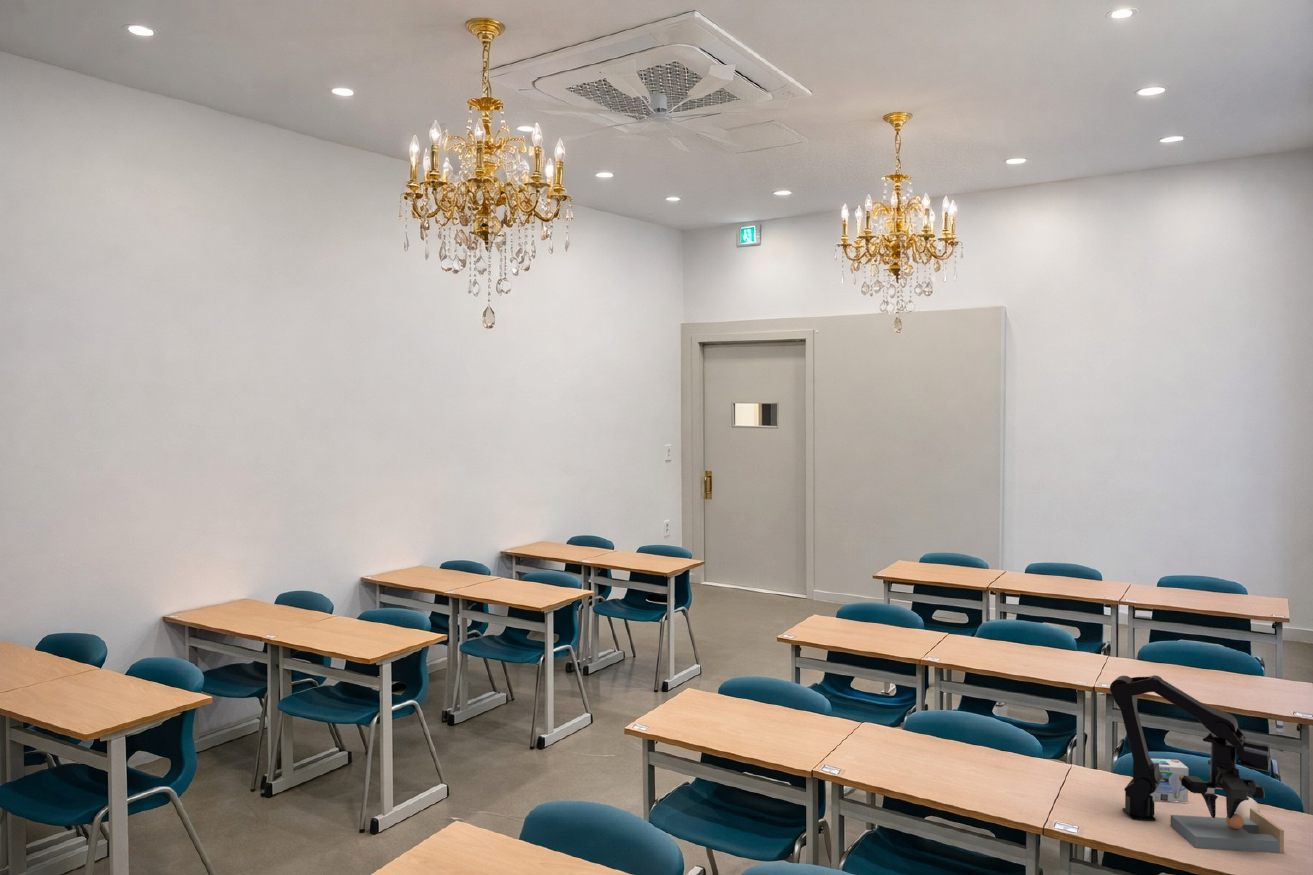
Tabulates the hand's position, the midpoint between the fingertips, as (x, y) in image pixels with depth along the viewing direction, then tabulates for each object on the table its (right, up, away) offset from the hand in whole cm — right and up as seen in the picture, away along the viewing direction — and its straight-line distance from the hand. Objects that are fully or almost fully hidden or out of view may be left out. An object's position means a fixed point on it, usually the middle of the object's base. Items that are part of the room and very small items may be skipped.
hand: (1221, 818), depth 227 cm
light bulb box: (+1, -6, +26) cm, 27 cm away
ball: (+4, -1, 0) cm, 4 cm away
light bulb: (+14, -6, +10) cm, 19 cm away
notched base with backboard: (+1, -6, 0) cm, 6 cm away
